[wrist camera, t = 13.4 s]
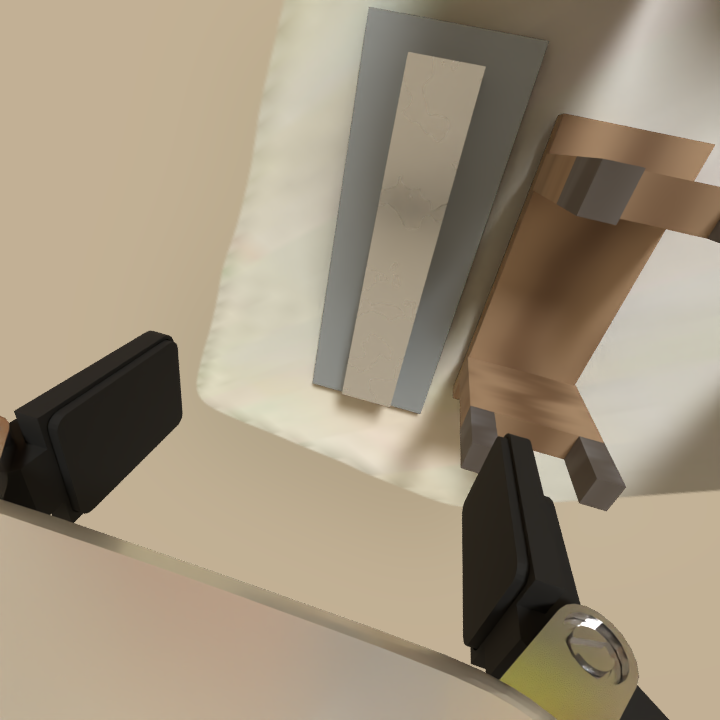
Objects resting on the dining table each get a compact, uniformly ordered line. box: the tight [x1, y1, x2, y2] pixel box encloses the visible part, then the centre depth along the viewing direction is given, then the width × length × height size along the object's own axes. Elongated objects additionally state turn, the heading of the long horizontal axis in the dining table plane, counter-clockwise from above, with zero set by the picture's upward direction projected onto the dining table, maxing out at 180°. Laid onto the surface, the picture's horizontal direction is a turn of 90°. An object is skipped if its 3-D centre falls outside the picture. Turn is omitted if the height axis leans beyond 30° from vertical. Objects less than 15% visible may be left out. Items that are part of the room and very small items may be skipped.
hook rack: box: [453, 114, 720, 511], centre depth 22 cm, size 8×20×12 cm, turn 169°
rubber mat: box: [313, 7, 549, 414], centre depth 28 cm, size 10×26×1 cm, turn 169°
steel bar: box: [342, 52, 486, 407], centre depth 26 cm, size 4×22×3 cm, turn 169°
